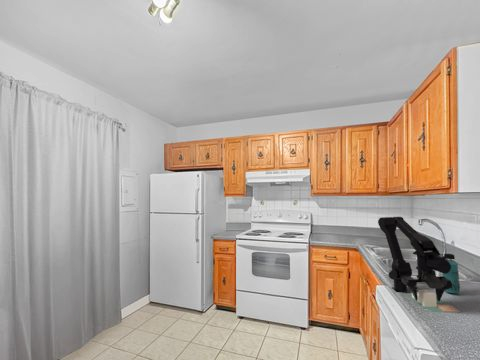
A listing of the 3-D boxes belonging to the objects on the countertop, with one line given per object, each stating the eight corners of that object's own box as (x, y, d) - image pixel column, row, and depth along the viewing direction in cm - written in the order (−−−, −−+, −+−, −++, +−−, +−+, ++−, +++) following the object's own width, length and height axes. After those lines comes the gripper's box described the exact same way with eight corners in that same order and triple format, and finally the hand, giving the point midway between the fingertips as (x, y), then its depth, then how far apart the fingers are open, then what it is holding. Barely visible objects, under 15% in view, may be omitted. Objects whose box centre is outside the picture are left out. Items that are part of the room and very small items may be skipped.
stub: (419, 302, 112) (418, 289, 113) (431, 303, 112) (430, 289, 112) (424, 306, 109) (423, 293, 109) (436, 307, 108) (435, 293, 108)
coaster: (435, 305, 110) (435, 304, 110) (449, 305, 109) (449, 304, 109) (444, 311, 104) (444, 310, 104) (459, 312, 103) (459, 311, 103)
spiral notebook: (411, 296, 119) (411, 292, 119) (422, 297, 118) (422, 292, 118) (418, 302, 113) (418, 297, 113) (430, 302, 112) (430, 297, 112)
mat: (407, 296, 120) (407, 295, 120) (436, 297, 118) (436, 296, 118) (427, 312, 104) (426, 311, 104) (460, 313, 102) (460, 312, 102)
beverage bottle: (440, 292, 123) (437, 253, 124) (448, 290, 125) (445, 251, 127) (455, 297, 117) (452, 256, 118) (463, 295, 119) (460, 254, 120)
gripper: (412, 271, 105) (414, 308, 104) (460, 272, 102) (463, 310, 101) (399, 264, 116) (401, 297, 115) (442, 264, 113) (445, 298, 112)
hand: (427, 300), depth 110 cm, fingers open, 9 cm apart
